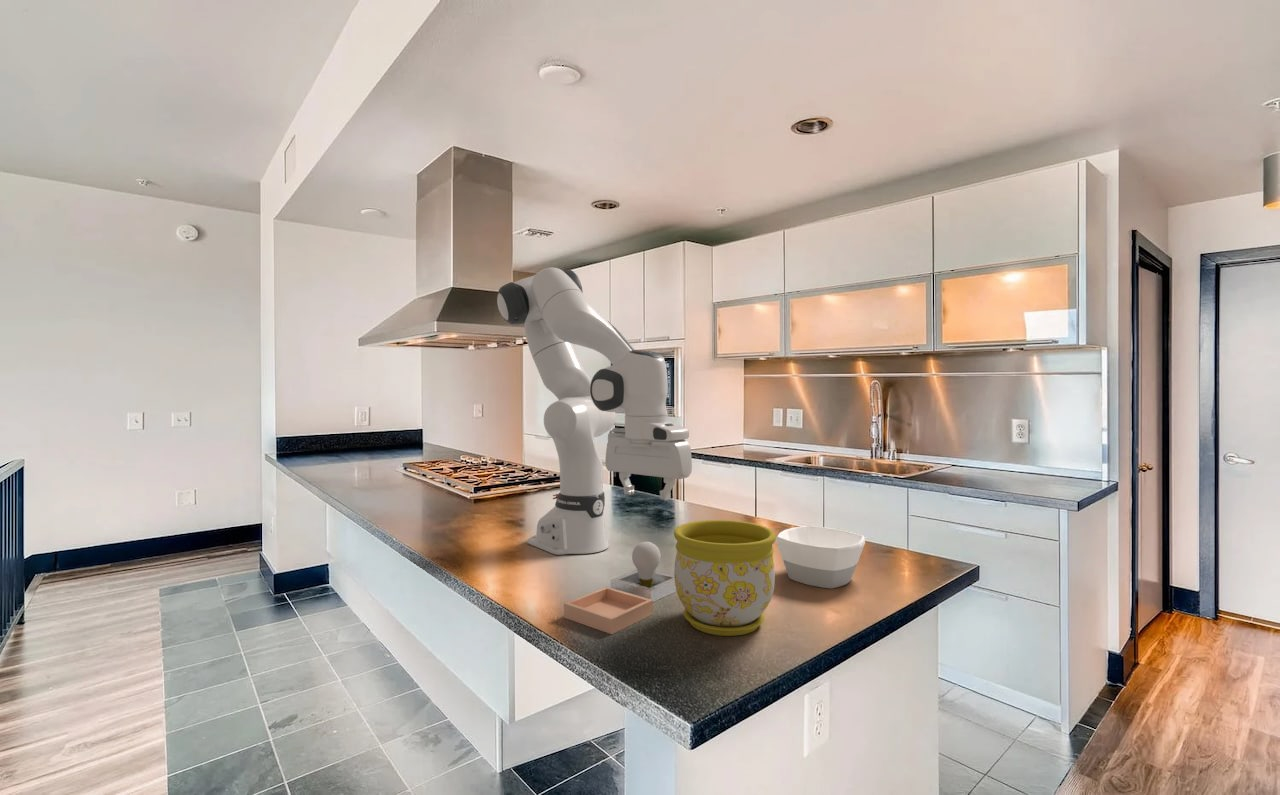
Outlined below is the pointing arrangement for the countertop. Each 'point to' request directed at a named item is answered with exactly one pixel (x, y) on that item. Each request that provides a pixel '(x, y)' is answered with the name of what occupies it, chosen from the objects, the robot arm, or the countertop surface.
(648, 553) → the light bulb
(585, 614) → the tray
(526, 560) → the countertop surface
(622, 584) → the socket collar
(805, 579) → the bowl
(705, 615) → the flowerpot
